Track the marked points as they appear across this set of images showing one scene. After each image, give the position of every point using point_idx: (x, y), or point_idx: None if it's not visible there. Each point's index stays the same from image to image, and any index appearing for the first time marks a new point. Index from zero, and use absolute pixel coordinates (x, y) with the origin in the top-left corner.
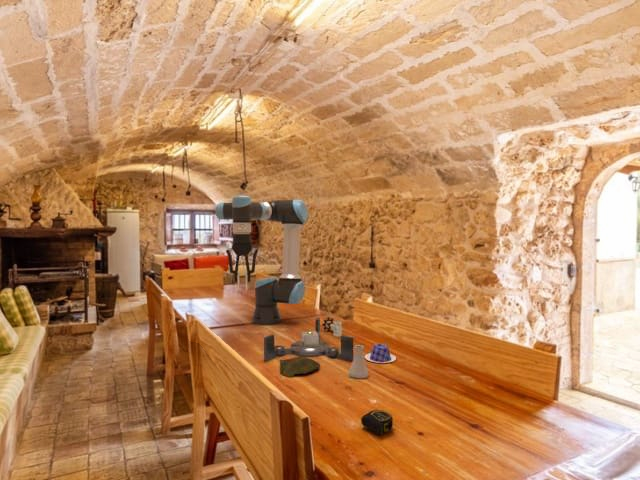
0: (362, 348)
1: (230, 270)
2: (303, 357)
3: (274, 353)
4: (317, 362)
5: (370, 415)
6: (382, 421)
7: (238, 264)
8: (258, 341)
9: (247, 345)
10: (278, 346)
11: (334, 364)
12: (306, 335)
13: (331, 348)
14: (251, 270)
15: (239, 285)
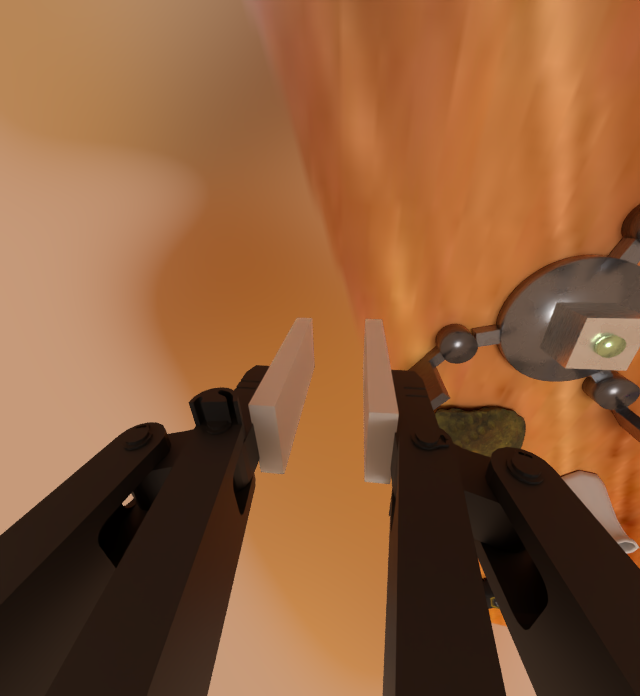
0: (625, 550)
1: (138, 520)
2: (492, 446)
3: (435, 366)
4: (520, 442)
5: (488, 600)
6: (494, 607)
7: (209, 676)
8: (414, 171)
9: (367, 223)
10: (459, 342)
11: (564, 429)
12: (576, 366)
13: (614, 393)
14: (474, 536)
15: (306, 361)
